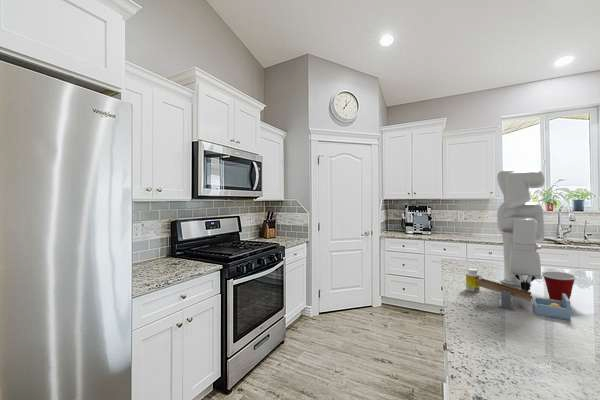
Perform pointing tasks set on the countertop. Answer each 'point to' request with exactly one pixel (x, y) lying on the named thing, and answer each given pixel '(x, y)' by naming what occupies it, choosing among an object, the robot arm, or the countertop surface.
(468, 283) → the supplement bottle
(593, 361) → the countertop surface
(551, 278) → the plastic cup
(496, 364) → the countertop surface
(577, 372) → the countertop surface
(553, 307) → the blue tray
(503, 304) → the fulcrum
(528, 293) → the lever
